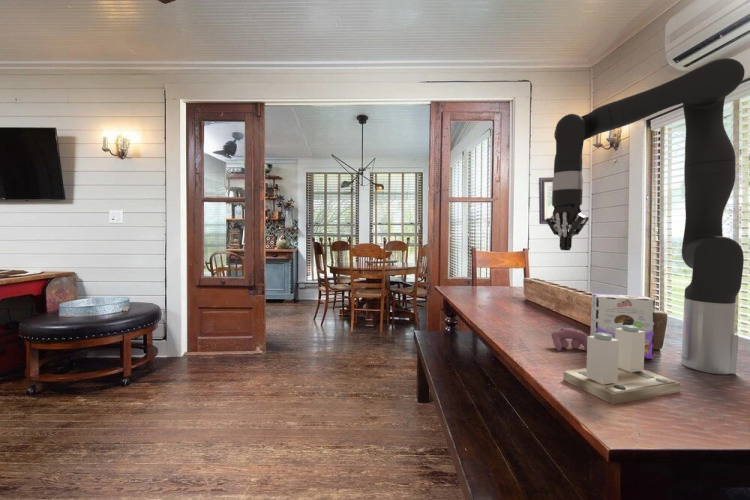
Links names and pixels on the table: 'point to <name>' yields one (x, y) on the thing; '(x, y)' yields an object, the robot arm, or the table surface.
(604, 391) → the switch board
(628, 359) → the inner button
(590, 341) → the white bottle with cap
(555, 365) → the table surface
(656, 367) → the table surface
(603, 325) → the candy box
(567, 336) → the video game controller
